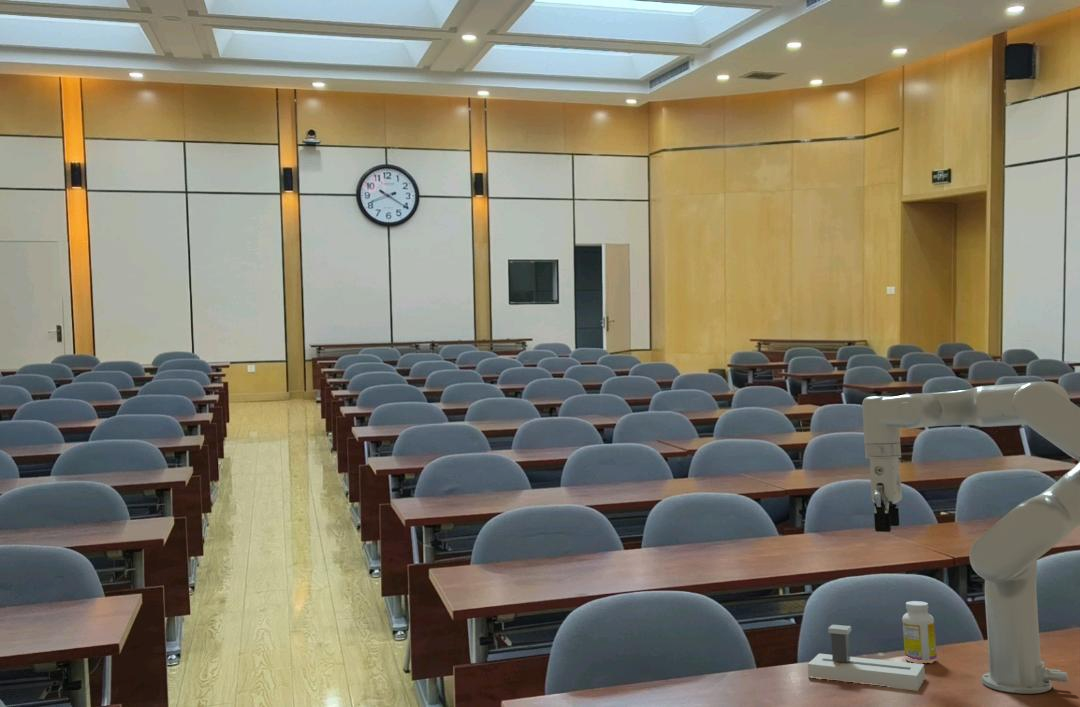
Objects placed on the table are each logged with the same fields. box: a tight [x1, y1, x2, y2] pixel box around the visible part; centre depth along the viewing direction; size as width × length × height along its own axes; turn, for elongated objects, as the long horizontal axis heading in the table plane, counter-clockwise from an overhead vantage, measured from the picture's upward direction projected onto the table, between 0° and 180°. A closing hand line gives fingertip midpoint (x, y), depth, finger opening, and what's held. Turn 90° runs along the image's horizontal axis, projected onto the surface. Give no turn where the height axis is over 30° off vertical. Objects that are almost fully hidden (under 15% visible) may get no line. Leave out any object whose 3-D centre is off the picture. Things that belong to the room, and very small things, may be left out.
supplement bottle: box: [901, 600, 938, 661], centre depth 209 cm, size 7×7×13 cm
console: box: [807, 653, 926, 692], centre depth 197 cm, size 22×9×3 cm, turn 59°
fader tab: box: [827, 624, 852, 663], centre depth 200 cm, size 4×4×7 cm
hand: (887, 528), depth 206 cm, fingers open, 9 cm apart
